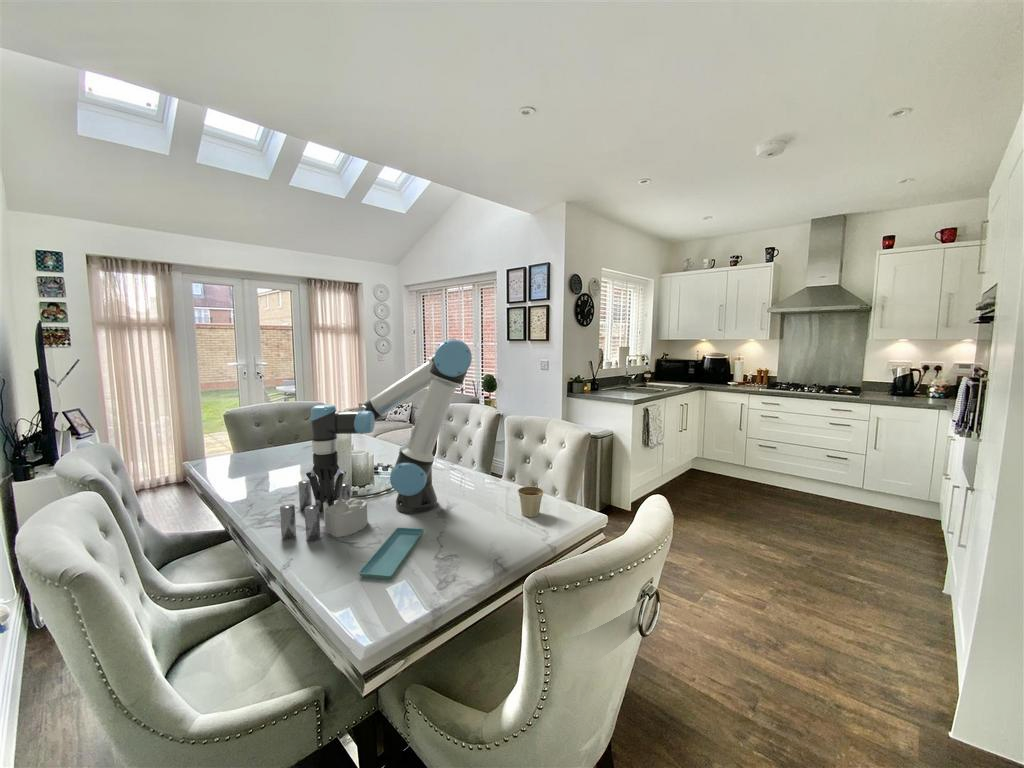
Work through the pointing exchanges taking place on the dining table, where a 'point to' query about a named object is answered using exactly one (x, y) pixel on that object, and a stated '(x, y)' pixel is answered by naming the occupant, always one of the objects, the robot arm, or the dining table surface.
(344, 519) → the lumpy-topped squat cylinder
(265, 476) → the dining table surface
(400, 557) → the rectangular tray
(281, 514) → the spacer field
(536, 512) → the flower pot
